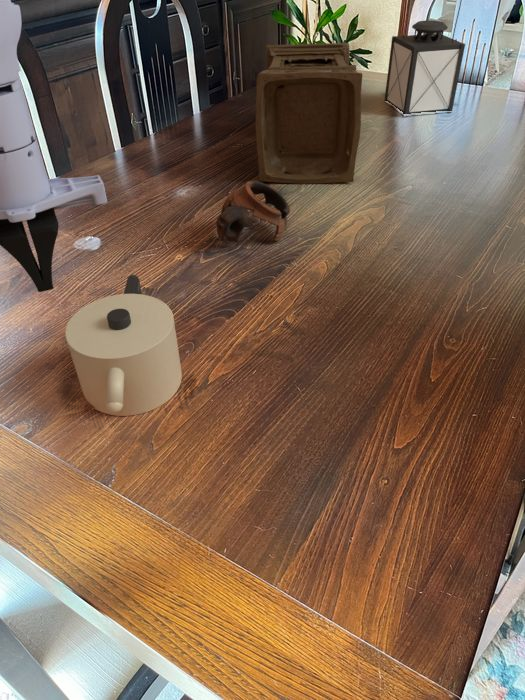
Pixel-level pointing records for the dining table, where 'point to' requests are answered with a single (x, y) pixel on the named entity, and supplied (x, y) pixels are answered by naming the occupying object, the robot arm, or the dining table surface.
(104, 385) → the kettle
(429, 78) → the lantern
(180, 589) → the dining table surface
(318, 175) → the ornamental box
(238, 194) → the brown hollow curved piece
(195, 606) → the dining table surface
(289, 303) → the dining table surface
